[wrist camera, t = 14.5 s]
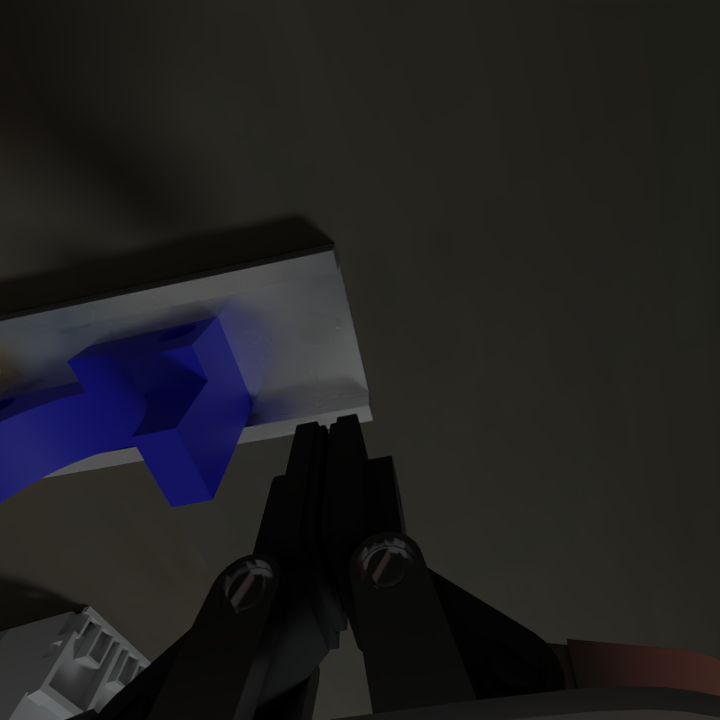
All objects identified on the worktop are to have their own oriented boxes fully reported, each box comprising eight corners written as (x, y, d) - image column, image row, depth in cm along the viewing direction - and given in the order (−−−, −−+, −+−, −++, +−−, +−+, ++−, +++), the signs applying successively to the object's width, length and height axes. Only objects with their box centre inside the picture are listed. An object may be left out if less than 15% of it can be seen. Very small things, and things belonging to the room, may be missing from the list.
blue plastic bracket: (217, 316, 17) (153, 386, 12) (253, 404, 19) (212, 499, 14) (-33, 373, 18) (-194, 461, 13) (25, 451, 20) (-96, 555, 15)
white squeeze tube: (371, 402, 20) (373, 441, 17) (11, 466, 21) (-40, 511, 18) (334, 242, 16) (330, 259, 14) (-87, 333, 18) (-167, 364, 15)
